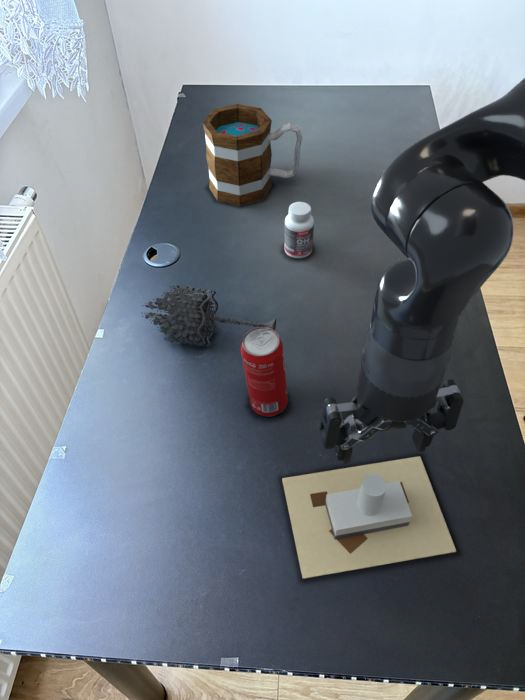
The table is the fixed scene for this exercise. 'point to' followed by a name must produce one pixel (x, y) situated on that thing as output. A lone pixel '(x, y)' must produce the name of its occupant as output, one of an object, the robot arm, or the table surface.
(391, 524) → the scrub brush
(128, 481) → the table surface
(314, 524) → the stain mat
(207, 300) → the dark grey model tree
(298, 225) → the pill bottle
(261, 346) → the beverage can
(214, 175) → the mug
